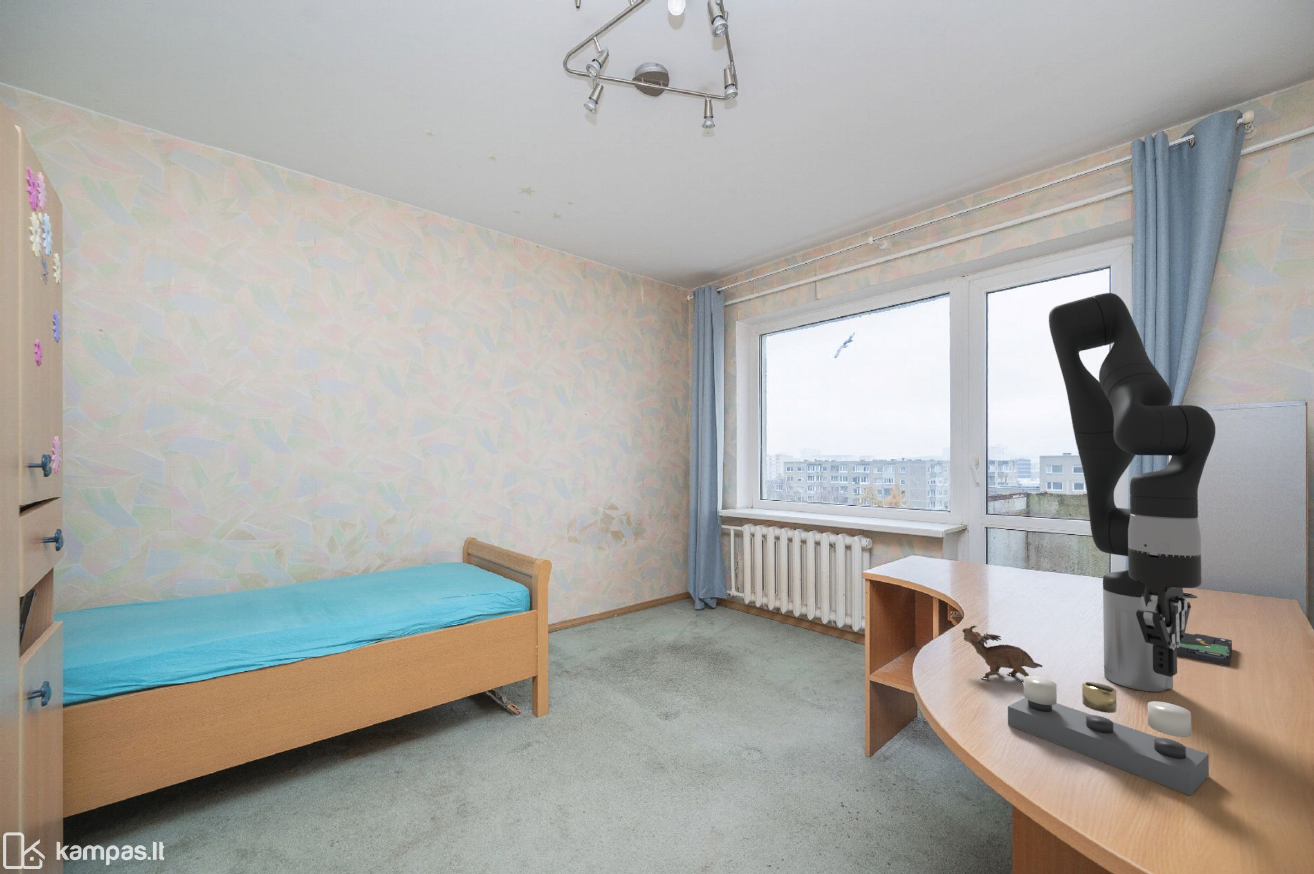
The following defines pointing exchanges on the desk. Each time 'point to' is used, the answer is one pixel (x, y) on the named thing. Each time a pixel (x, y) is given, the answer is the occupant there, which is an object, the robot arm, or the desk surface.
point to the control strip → (1114, 744)
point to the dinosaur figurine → (999, 654)
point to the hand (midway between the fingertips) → (1164, 673)
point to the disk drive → (1206, 648)
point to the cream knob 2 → (1169, 719)
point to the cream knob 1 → (1040, 690)
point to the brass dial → (1099, 697)
